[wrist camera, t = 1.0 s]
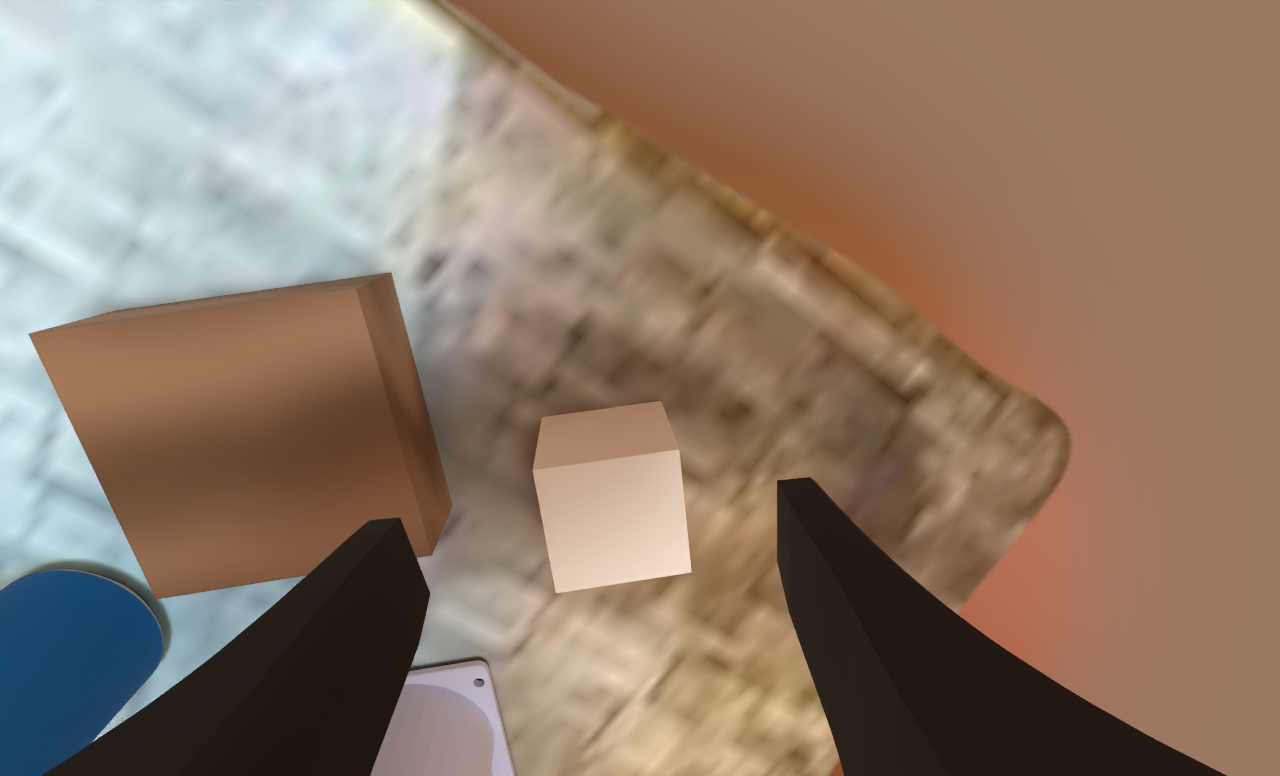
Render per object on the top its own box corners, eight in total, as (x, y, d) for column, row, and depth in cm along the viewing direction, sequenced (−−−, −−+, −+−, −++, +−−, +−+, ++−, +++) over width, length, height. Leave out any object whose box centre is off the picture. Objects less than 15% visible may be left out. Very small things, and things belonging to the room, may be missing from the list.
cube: (671, 504, 27) (691, 572, 22) (560, 520, 26) (555, 593, 22) (660, 400, 25) (679, 449, 20) (542, 416, 25) (532, 470, 20)
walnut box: (453, 501, 26) (432, 555, 22) (219, 537, 25) (156, 599, 22) (393, 271, 23) (355, 288, 19) (122, 308, 22) (28, 334, 18)
